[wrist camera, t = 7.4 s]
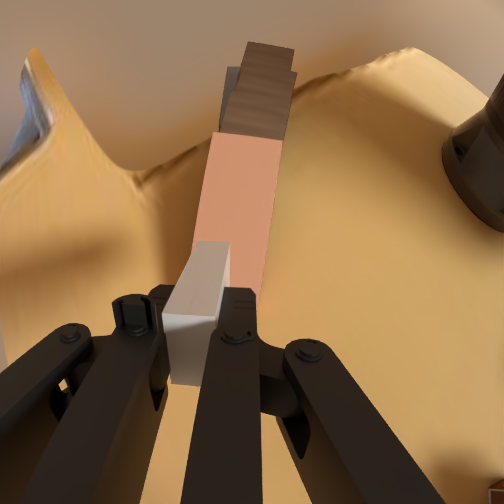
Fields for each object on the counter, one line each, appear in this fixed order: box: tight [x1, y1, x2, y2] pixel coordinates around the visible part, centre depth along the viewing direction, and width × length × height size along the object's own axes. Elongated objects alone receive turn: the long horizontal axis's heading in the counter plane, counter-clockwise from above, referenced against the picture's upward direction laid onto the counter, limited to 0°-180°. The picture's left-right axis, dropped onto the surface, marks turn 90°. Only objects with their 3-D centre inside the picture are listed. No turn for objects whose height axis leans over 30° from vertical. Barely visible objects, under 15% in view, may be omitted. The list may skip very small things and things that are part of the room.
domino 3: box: [219, 67, 240, 132], centre depth 32 cm, size 2×5×12 cm
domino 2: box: [235, 62, 297, 101], centre depth 26 cm, size 2×5×12 cm
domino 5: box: [191, 132, 283, 312], centre depth 22 cm, size 2×5×12 cm
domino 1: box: [234, 42, 294, 91], centre depth 28 cm, size 2×5×12 cm
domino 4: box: [219, 91, 291, 144], centre depth 24 cm, size 2×5×12 cm
